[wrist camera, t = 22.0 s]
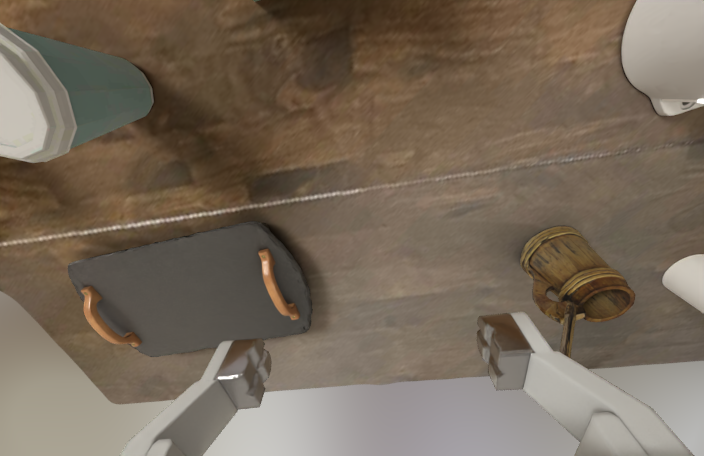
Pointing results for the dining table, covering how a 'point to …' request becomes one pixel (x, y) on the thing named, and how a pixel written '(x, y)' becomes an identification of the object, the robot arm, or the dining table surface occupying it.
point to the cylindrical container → (687, 280)
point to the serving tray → (195, 291)
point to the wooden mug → (573, 281)
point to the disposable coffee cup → (62, 95)
